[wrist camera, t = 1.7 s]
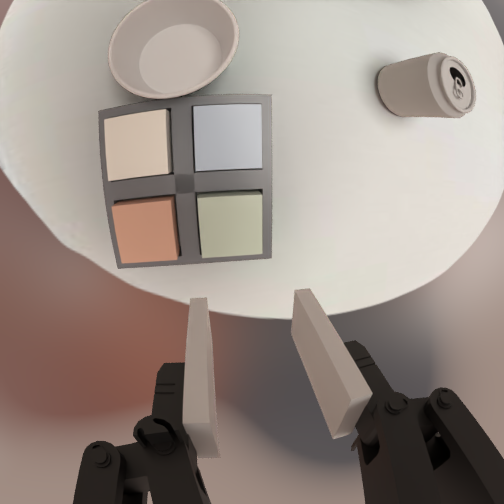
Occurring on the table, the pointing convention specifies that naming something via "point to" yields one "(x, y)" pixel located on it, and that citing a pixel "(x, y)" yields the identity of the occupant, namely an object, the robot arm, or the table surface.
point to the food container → (172, 46)
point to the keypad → (191, 175)
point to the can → (427, 87)
